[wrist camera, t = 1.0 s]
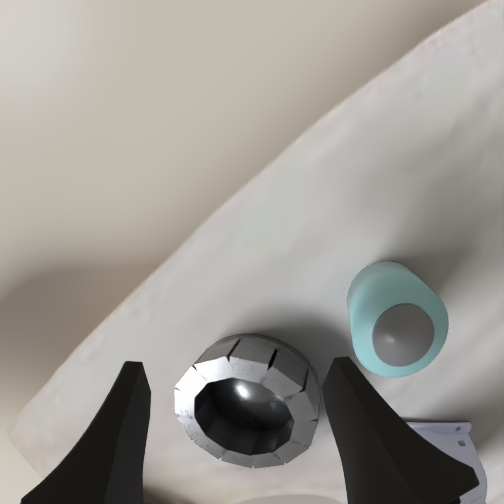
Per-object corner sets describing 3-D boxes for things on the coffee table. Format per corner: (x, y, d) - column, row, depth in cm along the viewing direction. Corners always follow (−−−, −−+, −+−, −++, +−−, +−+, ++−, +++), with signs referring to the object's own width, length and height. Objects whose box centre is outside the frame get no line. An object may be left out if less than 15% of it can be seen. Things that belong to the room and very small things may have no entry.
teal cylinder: (426, 266, 19) (463, 292, 12) (410, 337, 20) (434, 386, 13) (354, 255, 20) (364, 279, 14) (340, 329, 21) (342, 378, 14)
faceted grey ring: (331, 346, 21) (330, 374, 17) (305, 445, 23) (300, 477, 19) (198, 321, 23) (174, 342, 19) (195, 419, 25) (177, 446, 21)
